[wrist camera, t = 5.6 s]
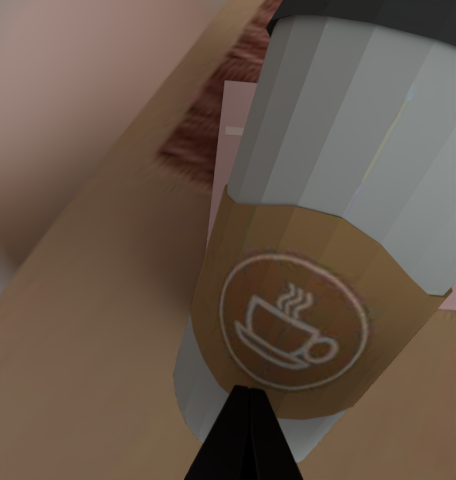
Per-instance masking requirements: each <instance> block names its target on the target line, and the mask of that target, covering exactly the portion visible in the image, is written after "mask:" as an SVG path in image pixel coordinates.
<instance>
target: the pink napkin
mask: <svg viewBox="0 0 456 480" xmlns="http://www.w3.org/2000/svg"><path fill="white" fill-rule="evenodd" d="M256 87H257V83H248V82H237V81H226V80H225V83H224V92H223V101H222V110H221V119H220V128H219V137H218V146H217V155H216V164H215V173H214V182H213V190H212V199H211V208H210V217H209V226H208V235H207V244H206V249H207V246H208V242H209V239H210V235H211V232H212V228H213V225H214V221H215V218H216V215H217V211H218V208H219V204H220V201H221V197H222V194H223V190H224V187H225V185H226V184H228V182H229V178H230V175H231V172H232V168H233V165H234V161H235V158H236V155H237V151H238V148H239V144H240V141H241V138H242V134H243V131H244V127H245V124H246V121H247V117H248V114H249V110H250V107H251V104H252V100H253V97H254V93H255V90H256ZM452 290H453V292H452V293H451V294H450V295H449V296H448V297H447V299H446V300H445V301H444V302H443V303H442V304H441V306H440V307H439V308H438V309H440V310H452V311H456V282H455V283H454V284H453V286H452Z"/></svg>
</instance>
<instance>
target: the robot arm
mask: <svg viewBox="0 0 456 480" xmlns="http://www.w3.org/2000/svg"><path fill="white" fill-rule="evenodd" d="M184 480H303V477H302V475H301V473H300V471H299V468H298V466H297V464H296V461H295V459H294V457H293V454H292V452H291V450H290V447H289V445H288V443H287V440H286V438H285V436H284V433H283V431H282V429H281V427H280V424H279V422H278V420H277V417H276V415H275V413H274V410H273V408H272V406H271V403H270V401H269V399H268V396H267V394H266V392H265V391H264V390H263V389H259V388H254V387H251V388H250V389H249V388H248V387H247V386H243V385H237V384H236V385H234V386H233V388H232V390H231V392H230V394H229V396H228V398H227V399H226V401H225V403H224V405H223V407H222V409H221V411H220V413H219V414H218V416H217V418H216V420H215V422H214V424H213V426H212V428H211V429H210V431H209V433H208V435H207V437H206V439H205V441H204V443H203V444H202V446H201V448H200V450H199V452H198V454H197V456H196V458H195V459H194V461H193V463H192V465H191V467H190V469H189V471H188V473H187V474H186V476H185V478H184Z"/></svg>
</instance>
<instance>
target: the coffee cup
mask: <svg viewBox="0 0 456 480" xmlns="http://www.w3.org/2000/svg"><path fill="white" fill-rule="evenodd" d="M266 29H267V31H268V33H269V35H270V37H271V39H270V42H269V46H268V49H267V53H266V56H265V59H264V63H263V66H262V70H261V73H260V76H259V80H258V83H257V87H256V90H255V93H254V97H253V100H252V104H251V107H250V110H249V114H248V117H247V121H246V124H245V127H244V131H243V134H242V138H241V141H240V144H239V148H238V151H237V155H236V158H235V161H234V165H233V168H232V172H231V175H230V178H229V182H228V184H226V185H225V187H224V190H223V194H222V197H221V201H220V204H219V208H218V211H217V215H216V218H215V221H214V225H213V228H212V232H211V235H210V239H209V242H208V246H207V249H206V253H205V256H204V260H203V263H202V266H201V270H200V273H199V277H198V280H197V284H196V287H195V291H194V294H193V298H192V303H191V309H190V315H189V318H188V321H187V325H186V328H185V332H184V335H183V338H182V342H181V345H180V349H179V352H178V355H177V359H176V363H175V368H174V373H173V379H174V387H175V394H176V397H177V400H178V406H179V408H180V410H181V413H182V415H183V418H184V420H185V422H186V424H187V425H188V427H189V428H190V429H191V431H192V432H193V433H194V435H195V436H196V438H197V439H198V440H199V441H200V442H201V443H202V444H203V443H204V441H205V439H206V437H207V435H208V433H209V431H210V429H211V428H212V426H213V424H214V422H215V420H216V418H217V416H218V414H219V413H220V411H221V409H222V407H223V405H224V403H225V401H226V399H227V398H228V396H229V394H230V392H231V390H232V388H233V386H234V385H236V384H237V385H243V386H247V387H248V388H249V389H250V388H251V387H254V388H259V389H263V390H264V391H265V392H266V394H267V396H268V399H269V401H270V403H271V406H272V408H273V410H274V413H275V415H276V417H277V420H278V422H279V424H280V427H281V429H282V431H283V433H284V436H285V438H286V440H287V443H288V445H289V447H290V450H291V452H292V454H293V457H294V459H295V461H296V463H297V462H299V461H301V460H304V458H305V457H306V456H307V455H308V454H309V453H310V452H311V451H312V450H313V449H314V447H315V446H316V445H317V444H318V443H319V442H320V440H321V439H322V438H323V437H324V436H325V435H326V433H327V432H328V431H329V430H330V429H331V428H332V426H333V425H334V424H335V423H336V422H337V420H338V419H339V418H340V417H341V416H342V415H343V413H344V412H345V411H346V410H347V409H348V408H350V407H353V406H354V405H355V404H356V402H357V401H358V400H359V399H360V398H361V397H362V396H363V395H364V393H365V392H366V391H367V390H368V389H369V388H370V386H371V385H372V384H373V383H374V382H375V381H376V380H377V378H378V377H379V376H380V375H381V374H382V373H383V371H384V370H385V369H386V368H387V367H388V366H389V365H390V363H391V362H392V361H393V360H394V359H395V358H396V356H397V355H398V354H399V353H400V352H401V351H402V349H403V348H404V347H405V346H406V345H407V344H408V343H409V341H410V340H411V339H412V338H413V337H414V336H415V334H416V333H417V332H418V331H419V330H420V329H421V328H422V326H423V325H424V324H425V323H426V322H427V321H428V319H429V318H430V317H431V316H432V315H433V314H434V312H435V311H436V310H437V309H438V308H439V307H440V306H441V304H442V303H443V302H444V301H445V300H446V299H447V297H448V296H449V295H450V294H451V293H452V292H453V290H452V286H453V284H454V283H455V282H456V0H283V1H282V3H281V4H280V6H279V7H278V9H277V11H276V12H275V14H274V15H273V17H272V19H271V20H270V22H269V24H268V26H267V28H266Z"/></svg>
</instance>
